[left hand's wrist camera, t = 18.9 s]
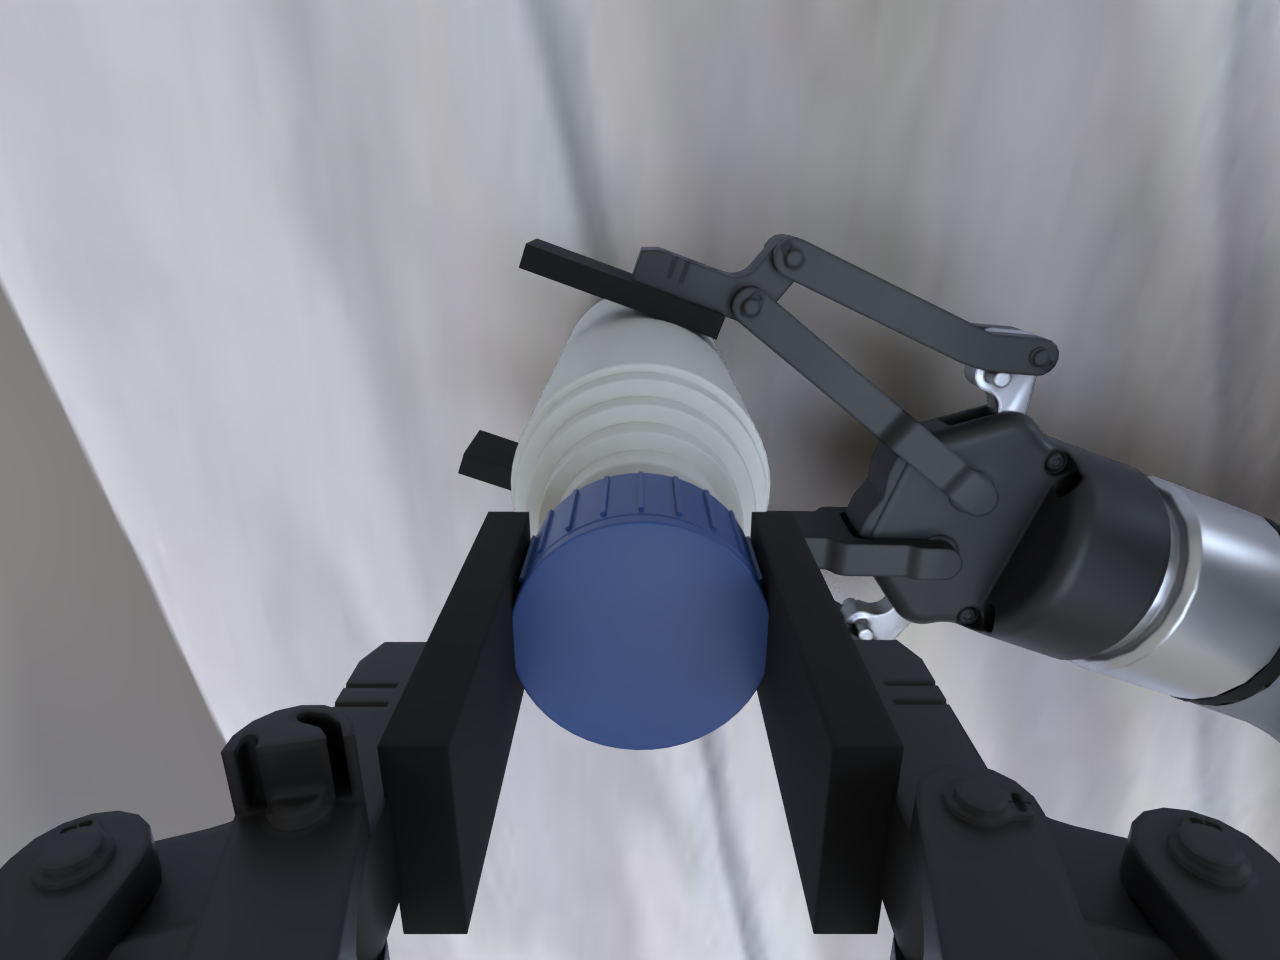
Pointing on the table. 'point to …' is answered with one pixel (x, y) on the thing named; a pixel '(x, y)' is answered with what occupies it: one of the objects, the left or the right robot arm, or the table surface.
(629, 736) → the cap
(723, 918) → the table surface
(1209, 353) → the table surface
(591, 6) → the table surface
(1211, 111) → the table surface
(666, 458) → the bottle
